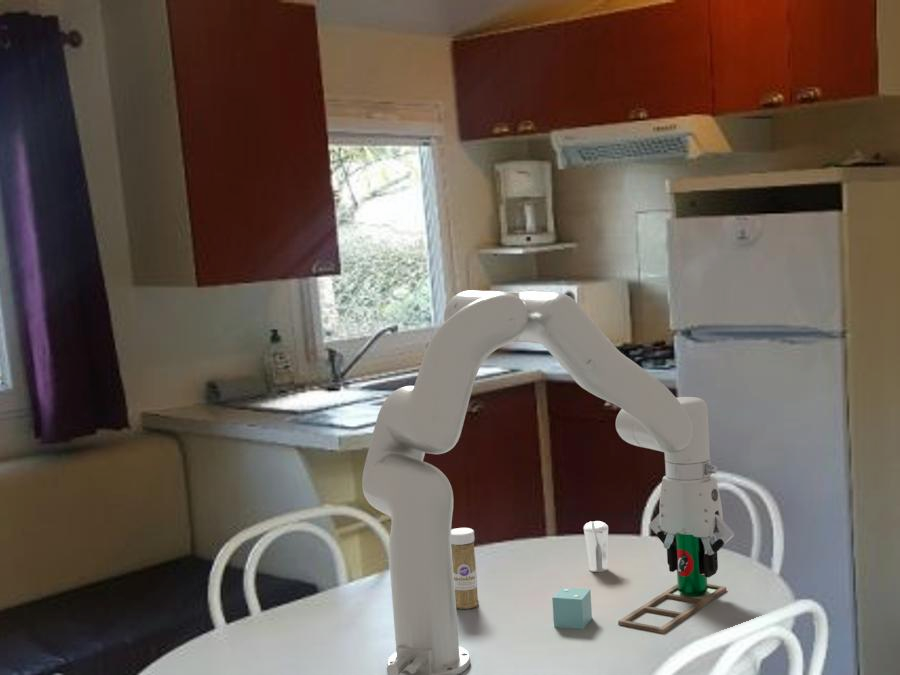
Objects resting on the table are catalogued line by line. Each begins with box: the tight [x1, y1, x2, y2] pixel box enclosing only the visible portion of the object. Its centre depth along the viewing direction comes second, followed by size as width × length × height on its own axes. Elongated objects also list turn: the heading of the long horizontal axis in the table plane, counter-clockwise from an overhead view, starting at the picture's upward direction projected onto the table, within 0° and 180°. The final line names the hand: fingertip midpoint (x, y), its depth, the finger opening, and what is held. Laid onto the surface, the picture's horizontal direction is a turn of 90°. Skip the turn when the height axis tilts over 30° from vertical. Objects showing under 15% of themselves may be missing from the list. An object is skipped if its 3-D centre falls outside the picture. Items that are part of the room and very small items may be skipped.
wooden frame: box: [617, 583, 727, 634], centre depth 187 cm, size 23×8×1 cm, turn 141°
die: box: [552, 587, 593, 630], centre depth 183 cm, size 5×5×5 cm
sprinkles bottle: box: [451, 527, 480, 610], centre depth 195 cm, size 5×5×14 cm
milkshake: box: [583, 520, 609, 573], centre depth 209 cm, size 4×5×10 cm
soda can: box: [675, 528, 709, 597], centre depth 192 cm, size 5×5×12 cm
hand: (692, 571), depth 192 cm, fingers open, 6 cm apart
